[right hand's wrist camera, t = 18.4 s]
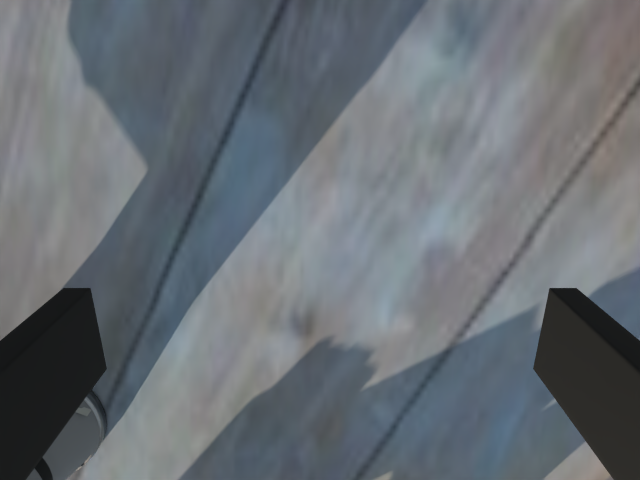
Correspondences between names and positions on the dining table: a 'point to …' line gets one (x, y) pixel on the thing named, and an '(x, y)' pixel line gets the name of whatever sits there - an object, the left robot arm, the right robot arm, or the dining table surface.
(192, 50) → the dining table surface
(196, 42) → the dining table surface
